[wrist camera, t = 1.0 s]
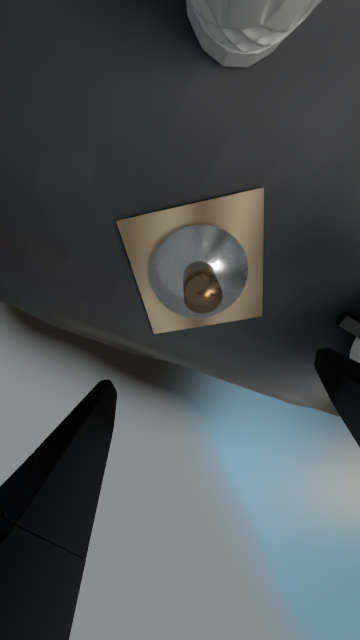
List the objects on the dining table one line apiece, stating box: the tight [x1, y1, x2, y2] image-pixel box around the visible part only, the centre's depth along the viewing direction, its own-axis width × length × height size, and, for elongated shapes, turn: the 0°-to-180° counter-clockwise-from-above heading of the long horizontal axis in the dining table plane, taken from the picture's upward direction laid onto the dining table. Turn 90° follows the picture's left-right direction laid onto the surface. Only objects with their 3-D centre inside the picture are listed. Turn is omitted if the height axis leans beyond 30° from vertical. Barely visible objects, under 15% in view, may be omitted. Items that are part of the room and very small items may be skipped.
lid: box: [150, 224, 248, 318], centre depth 18 cm, size 9×9×5 cm
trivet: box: [116, 187, 264, 334], centre depth 21 cm, size 12×12×1 cm
